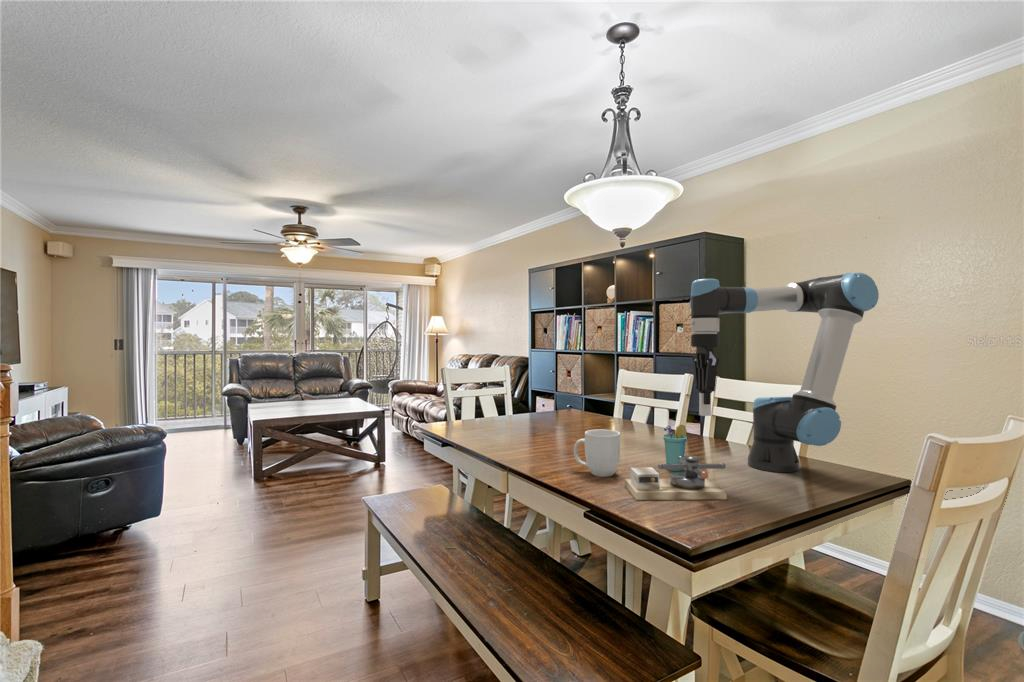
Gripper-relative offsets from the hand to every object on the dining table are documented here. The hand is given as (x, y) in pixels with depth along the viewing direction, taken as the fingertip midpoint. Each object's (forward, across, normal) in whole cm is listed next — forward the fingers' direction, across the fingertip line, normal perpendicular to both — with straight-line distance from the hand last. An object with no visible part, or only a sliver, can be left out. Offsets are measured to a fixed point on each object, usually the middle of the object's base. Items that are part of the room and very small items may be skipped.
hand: (705, 415), depth 140 cm
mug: (+21, -14, -28) cm, 37 cm away
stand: (+20, +6, -11) cm, 24 cm away
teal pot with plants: (+21, -18, -3) cm, 27 cm away
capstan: (+18, +6, -6) cm, 20 cm away
